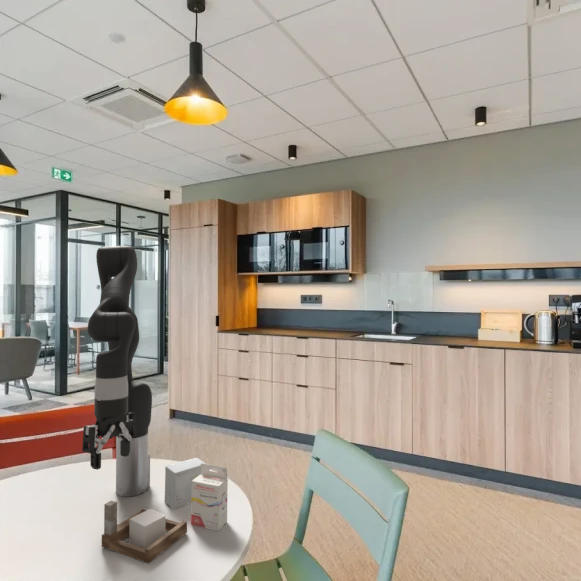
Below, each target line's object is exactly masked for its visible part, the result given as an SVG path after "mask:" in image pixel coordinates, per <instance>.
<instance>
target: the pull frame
mask: <svg viewBox="0 0 581 581" xmlns="http://www.w3.org/2000/svg"><path fill="white" fill-rule="evenodd" d="M103 509H104V510H103V512H104V515H103V516H104V517H103V518H104V520H103V524H104V525H103V528H104V530H103V534H101V548H104V549H107V550H110V551H114V552H115V553H119V554H122V555H124V556H127V557H130V558H133V559H136V560H139V561H142V562H145V563H148V564H150V563H151V562H152V561H153V560H154V559H156V558H157V557H158V556H160V555H161V554H162V553H163V552H165V551H167V549H169V548H170V547H171V546H173V545H174V544H175V543H176V542H177V541H179V540H180V539H181V538H182V537H183V536H185V535H186V534H187V533H188V521H187V520H182V521H180V522H179V521H175V520H172V519H169V518H165V531H168V532H165V535H163V536H162V537H161V538H159V539H158V540H157V541H155V542H154V543H153V544H151V545H150V546H149V547H147V548H146V549H145V548H142V547H139V546H136V545H132V544H130V543H129V542H126V541H124V540H125V539H126V538H128V537H129V524H130V518H132V517H134V516H137V515H139V514H141V513H143V512H145V511H147V510H148V509H144V508H142V509H141V510H139V511H138V512H136V513H134V514H133V515H131V516H130V517H128V518H127V519H125V520H123V521H121V522H120V523H119V524H118V501H115V500H109V501H107V502H106V503H104V508H103Z"/></svg>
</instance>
